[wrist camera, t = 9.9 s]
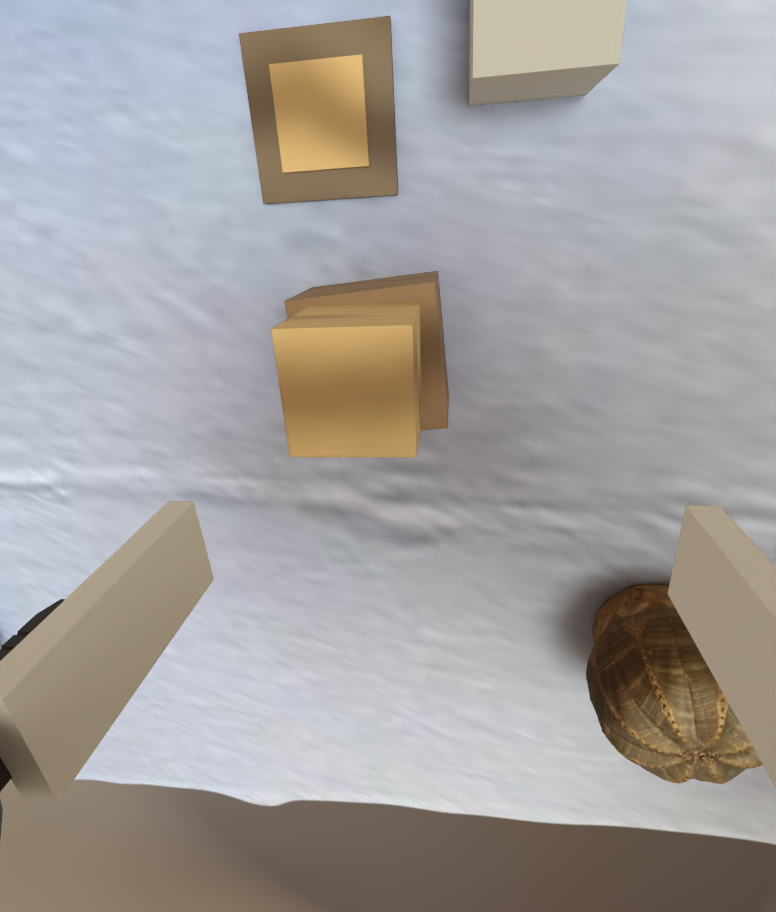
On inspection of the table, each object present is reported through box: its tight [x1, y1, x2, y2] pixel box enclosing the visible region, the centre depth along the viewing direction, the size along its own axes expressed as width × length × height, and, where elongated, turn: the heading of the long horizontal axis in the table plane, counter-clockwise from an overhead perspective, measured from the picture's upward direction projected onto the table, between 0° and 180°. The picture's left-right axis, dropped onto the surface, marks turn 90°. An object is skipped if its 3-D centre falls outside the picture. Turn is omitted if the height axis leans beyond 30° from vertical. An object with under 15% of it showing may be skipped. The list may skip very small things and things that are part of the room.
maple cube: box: [271, 303, 423, 457], centre depth 25 cm, size 6×6×6 cm
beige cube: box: [469, 0, 627, 106], centre depth 22 cm, size 6×6×6 cm
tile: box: [239, 16, 398, 204], centre depth 27 cm, size 8×8×1 cm
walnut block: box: [285, 271, 449, 430], centre depth 30 cm, size 8×8×6 cm
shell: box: [586, 584, 763, 784], centre depth 34 cm, size 11×11×12 cm
